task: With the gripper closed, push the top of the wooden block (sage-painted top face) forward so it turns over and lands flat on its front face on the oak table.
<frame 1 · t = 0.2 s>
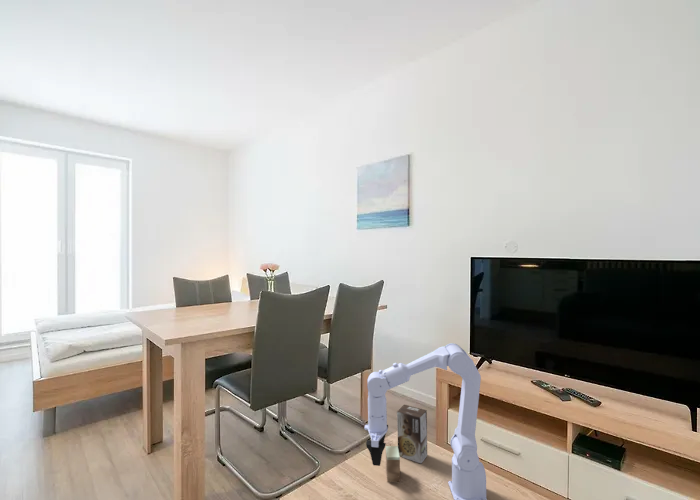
hand: (378, 456, 105), 10 cm above the table, fingers open, 7 cm apart
coffee box: (412, 455, 122), on the table
wooden block: (392, 475, 111), on the table
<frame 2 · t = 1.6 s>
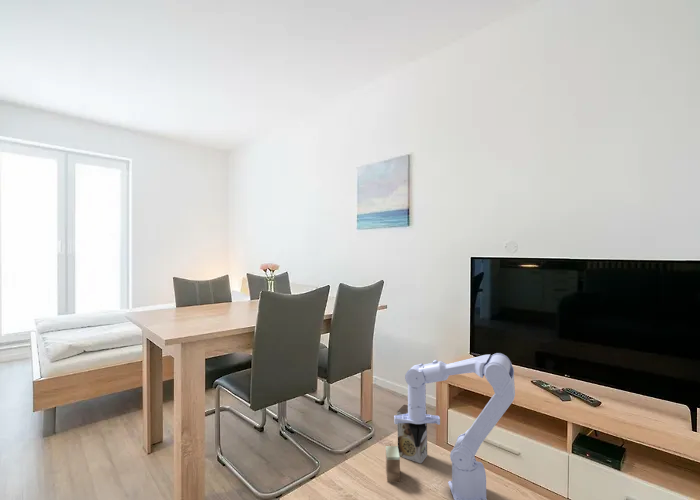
hand: (417, 445, 111), 10 cm above the table, fingers closed
nothing on the table moved.
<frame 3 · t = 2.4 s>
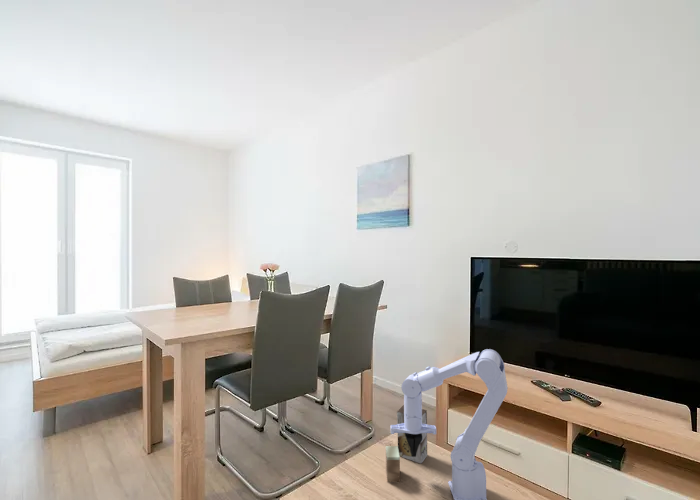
hand: (413, 454, 111), 7 cm above the table, fingers closed
nothing on the table moved.
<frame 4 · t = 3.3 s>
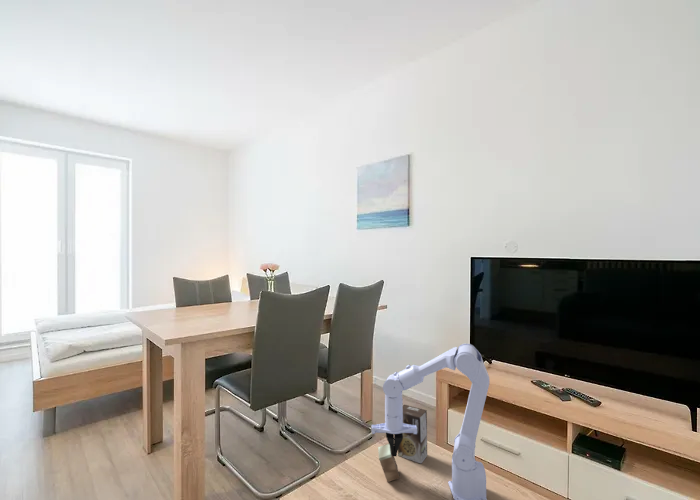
hand: (394, 454, 111), 7 cm above the table, fingers closed
wooden block: (392, 473, 111), point 1 cm above the table, tilted 19°
everything else where it was.
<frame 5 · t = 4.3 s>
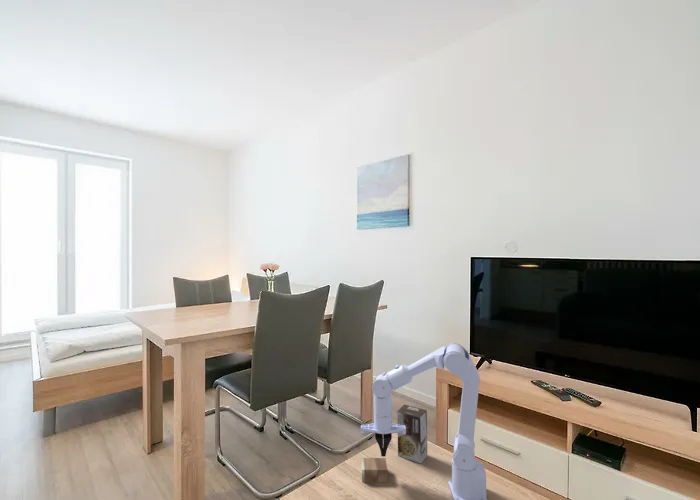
hand: (383, 454, 111), 7 cm above the table, fingers closed
wooden block: (386, 469, 111), point 2 cm above the table, tilted 90°
everything else where it was.
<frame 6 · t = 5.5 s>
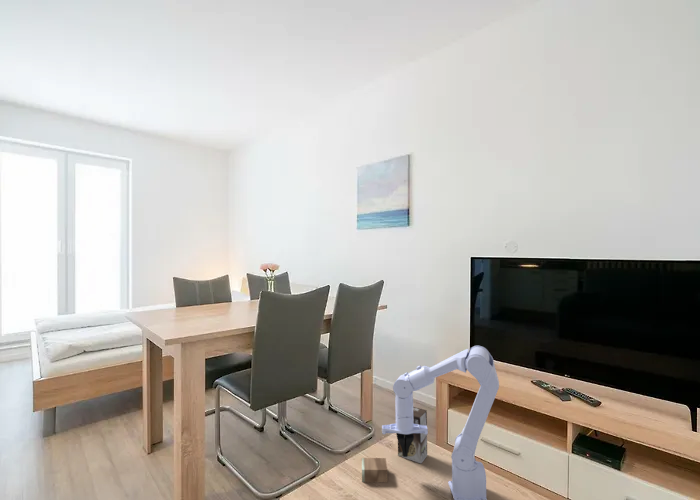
hand: (404, 454, 111), 7 cm above the table, fingers closed
nothing on the table moved.
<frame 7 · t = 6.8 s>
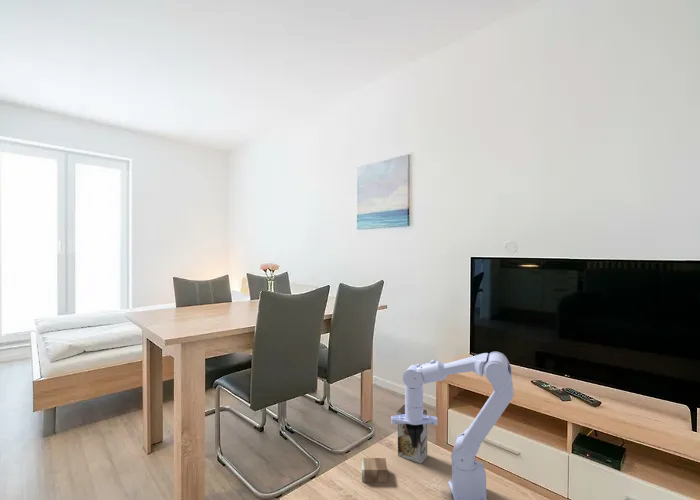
hand: (414, 445, 110), 10 cm above the table, fingers closed
nothing on the table moved.
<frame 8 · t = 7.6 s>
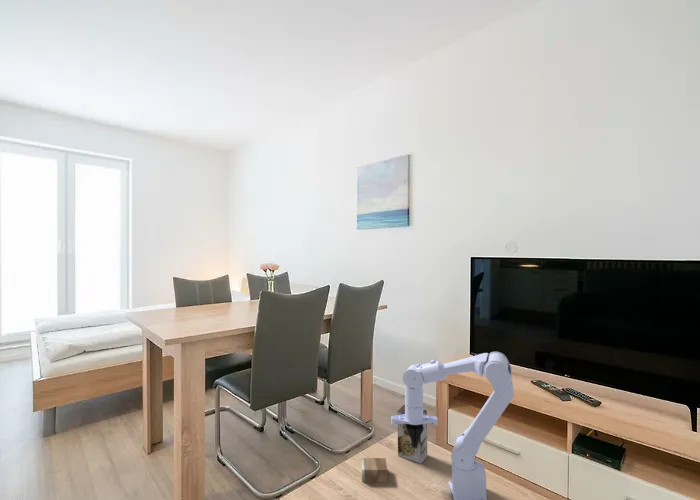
hand: (414, 445, 110), 10 cm above the table, fingers closed
nothing on the table moved.
at the end: wooden block tilted 90°; wooden block inside the target area (4.0 cm from its centre), point 1.9 cm above the table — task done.
